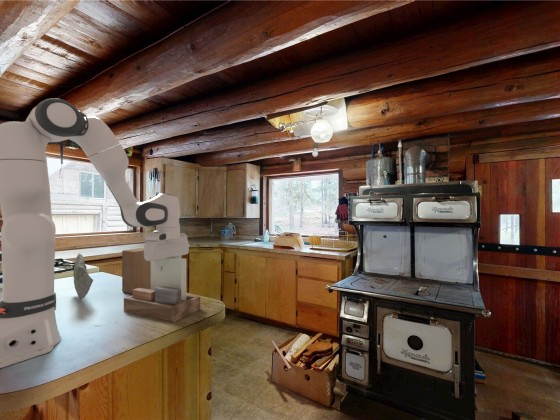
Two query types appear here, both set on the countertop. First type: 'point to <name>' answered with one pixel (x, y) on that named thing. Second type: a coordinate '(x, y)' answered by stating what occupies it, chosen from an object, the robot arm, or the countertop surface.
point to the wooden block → (135, 270)
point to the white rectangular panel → (170, 275)
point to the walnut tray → (162, 308)
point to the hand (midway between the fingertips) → (168, 268)
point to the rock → (81, 277)
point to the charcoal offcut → (168, 295)
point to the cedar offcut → (144, 294)
